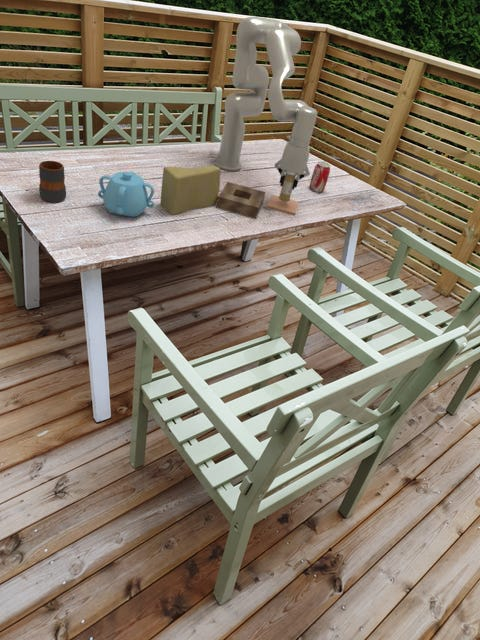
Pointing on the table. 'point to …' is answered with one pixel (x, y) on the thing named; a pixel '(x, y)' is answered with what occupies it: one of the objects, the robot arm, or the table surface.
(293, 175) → the sprinkles bottle
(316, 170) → the soda can
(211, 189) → the cheese
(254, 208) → the frame
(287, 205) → the terracotta tile
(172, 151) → the table surface
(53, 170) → the mug
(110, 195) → the decorative pot
